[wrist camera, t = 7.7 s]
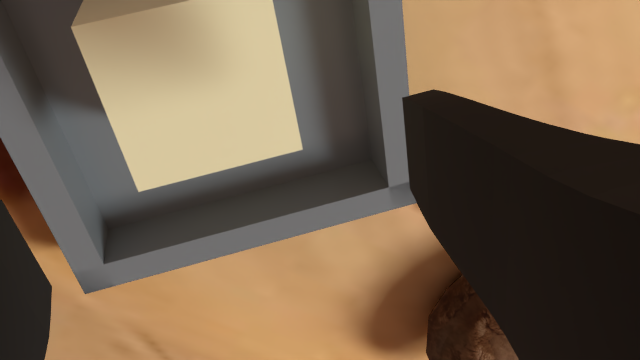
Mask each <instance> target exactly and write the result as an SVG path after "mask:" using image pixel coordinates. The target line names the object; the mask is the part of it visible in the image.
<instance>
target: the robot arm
mask: <svg viewBox="0 0 640 360" xmlns="http://www.w3.org/2000/svg"><path fill="white" fill-rule="evenodd" d="M402 102H403V114H404V126H405V138H406V149H407V161H408V173H409V185H410V190H411V192H412V194H413V196H414V198H415V200H416V202H417V204H418V206H419V208H420V210H421V212H422V214H423V216H424V218H425V220H426V221H427V223H428V225H429V227H430V229H431V230H432V232H433V233H434V235H435V236H436V238H437V239H438V240H439V242H440V243H441V245H442V246H443V248H444V249H445V250H446V252H447V253H448V255H449V256H450V257H451V259H452V260H453V262H454V263H455V264H456V266H457V267H458V269H459V270H460V271H461V273H462V274H463V276H464V277H465V278H466V280H467V281H468V282H469V284H470V285H471V287H472V288H473V289H474V291H475V292H476V294H477V295H478V296H479V298H480V299H481V301H482V302H483V303H484V305H485V306H486V307H487V309H488V310H489V312H490V313H491V314H492V316H493V317H494V319H495V321H496V322H497V324H498V325H499V327H500V328H501V330H502V331H503V333H504V334H505V336H506V338H507V339H508V341H509V343H510V345H511V347H512V348H513V350H514V352H515V354H516V355H517V357H518V359H519V360H640V144H634V143H629V142H624V141H618V140H613V139H607V138H602V137H598V136H593V135H589V134H584V133H580V132H576V131H572V130H568V129H565V128H561V127H557V126H553V125H549V124H546V123H542V122H539V121H535V120H532V119H529V118H525V117H522V116H519V115H516V114H513V113H509V112H506V111H503V110H500V109H497V108H494V107H491V106H488V105H485V104H482V103H479V102H476V101H473V100H470V99H467V98H464V97H460V96H457V95H454V94H450V93H447V92H443V91H438V90H430V91H426V92H422V93H418V94H414V95H410V96H406V97H402ZM51 293H52V286H51V284H50V283H49V281H48V279H47V278H46V276H45V274H44V272H43V271H42V269H41V267H40V265H39V264H38V262H37V260H36V259H35V257H34V255H33V253H32V252H31V250H30V248H29V246H28V245H27V243H26V241H25V240H24V238H23V236H22V234H21V233H20V231H19V229H18V227H17V226H16V224H15V222H14V221H13V219H12V217H11V215H10V214H9V212H8V210H7V208H6V207H5V205H4V203H3V202H2V200H0V360H44V359H45V354H46V350H47V344H48V339H49V330H50V317H51Z"/></svg>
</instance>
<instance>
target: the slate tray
mask: <svg viewBox="0 0 640 360" xmlns="http://www.w3.org/2000/svg"><path fill="white" fill-rule="evenodd" d="M82 2H83V0H0V138H1V139H2V141H3V143H4V145H5V147H6V149H7V151H8V152H9V154H10V156H11V158H12V160H13V162H14V163H15V165H16V167H17V169H18V171H19V173H20V175H21V176H22V178H23V180H24V182H25V184H26V186H27V188H28V189H29V191H30V193H31V195H32V197H33V199H34V200H35V202H36V204H37V206H38V208H39V210H40V212H41V213H42V215H43V217H44V219H45V221H46V223H47V225H48V226H49V228H50V230H51V232H52V234H53V236H54V237H55V239H56V241H57V243H58V245H59V247H60V249H61V250H62V252H63V254H64V256H65V258H66V260H67V262H68V263H69V265H70V267H71V269H72V271H73V273H74V274H75V276H76V278H77V280H78V282H79V284H80V286H81V287H82V289H83V291H84V293H85V294H87V293H91V292H94V291H98V290H102V289H105V288H109V287H113V286H116V285H120V284H124V283H127V282H131V281H134V280H138V279H142V278H145V277H149V276H153V275H156V274H160V273H164V272H167V271H171V270H174V269H178V268H182V267H185V266H189V265H193V264H196V263H200V262H204V261H207V260H211V259H214V258H218V257H222V256H225V255H229V254H233V253H236V252H240V251H244V250H247V249H251V248H254V247H258V246H262V245H265V244H269V243H273V242H276V241H280V240H284V239H287V238H291V237H294V236H298V235H302V234H305V233H309V232H313V231H316V230H320V229H324V228H327V227H331V226H334V225H338V224H342V223H345V222H349V221H353V220H356V219H360V218H364V217H367V216H371V215H374V214H378V213H382V212H385V211H389V210H393V209H396V208H400V207H404V206H407V205H411V204H414V203H417V202H416V200H415V198H414V196H413V194H412V192H411V190H410V185H409V173H408V161H407V149H406V138H405V126H404V114H403V102H402V97H406V96H409V87H408V74H407V61H406V48H405V35H404V22H403V9H402V0H273V5H274V10H275V15H276V19H277V24H278V29H279V34H280V39H281V44H282V49H283V54H284V59H285V64H286V69H287V74H288V79H289V84H290V88H291V93H292V98H293V103H294V108H295V113H296V118H297V123H298V128H299V133H300V138H301V143H302V148H303V150H299V151H296V152H292V153H288V154H284V155H280V156H276V157H272V158H268V159H265V160H261V161H257V162H253V163H249V164H245V165H241V166H238V167H234V168H230V169H226V170H222V171H218V172H214V173H210V174H207V175H203V176H199V177H195V178H191V179H187V180H183V181H179V182H176V183H172V184H168V185H164V186H160V187H156V188H152V189H149V190H145V191H141V192H138V190H137V187H136V185H135V182H134V180H133V177H132V175H131V172H130V170H129V168H128V165H127V163H126V160H125V158H124V155H123V153H122V151H121V148H120V146H119V143H118V141H117V138H116V136H115V133H114V131H113V129H112V126H111V124H110V121H109V119H108V116H107V114H106V112H105V109H104V107H103V104H102V102H101V99H100V97H99V94H98V92H97V90H96V87H95V85H94V82H93V80H92V77H91V75H90V73H89V70H88V68H87V65H86V63H85V60H84V58H83V55H82V53H81V51H80V48H79V46H78V43H77V41H76V38H75V36H74V34H73V31H72V29H71V26H72V24H73V21H74V19H75V17H76V15H77V13H78V10H79V8H80V6H81V4H82Z"/></svg>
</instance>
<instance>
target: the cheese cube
mask: <svg viewBox="0 0 640 360" xmlns="http://www.w3.org/2000/svg"><path fill="white" fill-rule="evenodd" d="M71 29H72V31H73V34H74V36H75V38H76V41H77V43H78V46H79V48H80V51H81V53H82V55H83V58H84V60H85V63H86V65H87V68H88V70H89V73H90V75H91V77H92V80H93V82H94V85H95V87H96V90H97V92H98V94H99V97H100V99H101V102H102V104H103V107H104V109H105V112H106V114H107V116H108V119H109V121H110V124H111V126H112V129H113V131H114V133H115V136H116V138H117V141H118V143H119V146H120V148H121V151H122V153H123V155H124V158H125V160H126V163H127V165H128V168H129V170H130V172H131V175H132V177H133V180H134V182H135V185H136V187H137V190H138V192H141V191H145V190H149V189H152V188H156V187H160V186H164V185H168V184H172V183H176V182H179V181H183V180H187V179H191V178H195V177H199V176H203V175H207V174H210V173H214V172H218V171H222V170H226V169H230V168H234V167H238V166H241V165H245V164H249V163H253V162H257V161H261V160H265V159H268V158H272V157H276V156H280V155H284V154H288V153H292V152H296V151H299V150H303V148H302V143H301V138H300V133H299V128H298V123H297V118H296V113H295V108H294V103H293V98H292V93H291V88H290V84H289V79H288V74H287V69H286V64H285V59H284V54H283V49H282V44H281V39H280V34H279V29H278V24H277V19H276V15H275V10H274V5H273V0H83V2H82V4H81V6H80V8H79V10H78V13H77V15H76V17H75V19H74V21H73V24H72V26H71Z"/></svg>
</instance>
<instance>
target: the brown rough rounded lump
mask: <svg viewBox="0 0 640 360" xmlns="http://www.w3.org/2000/svg"><path fill="white" fill-rule="evenodd" d="M426 353H427V356H428V358H429V360H519V359H518V357H517V355H516V354H515V352H514V350H513V348H512V347H511V345H510V343H509V341H508V339H507V338H506V336H505V334H504V333H503V331H502V330H501V328H500V327H499V325H498V324H497V322H496V321H495V319H494V317H493V316H492V314H491V313H490V312H489V310H488V309H487V307H486V306H485V305H484V303H483V302H482V301H481V299H480V298H479V296H478V295H477V294H476V292H475V291H474V289H473V288H472V287H471V285H470V284H469V282H468V281H467V280H466V278H465V277H464V276H463V275H462V276H461V277H460V278H459V279H457V280H456V281H455V282H454V283H453V284H452V285H451V286H450V287H449V288H448V289H447V290H446V291H445V292H444V294H443V295H442V297H441V298H440V300H439V302H438V303H437V305H436V306H435V308H434V309H433V311H432V312H431V314H430V315H429V320H428V333H427V347H426Z"/></svg>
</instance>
